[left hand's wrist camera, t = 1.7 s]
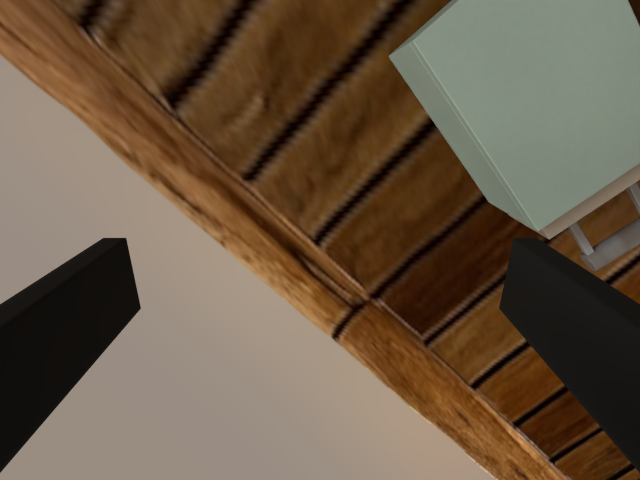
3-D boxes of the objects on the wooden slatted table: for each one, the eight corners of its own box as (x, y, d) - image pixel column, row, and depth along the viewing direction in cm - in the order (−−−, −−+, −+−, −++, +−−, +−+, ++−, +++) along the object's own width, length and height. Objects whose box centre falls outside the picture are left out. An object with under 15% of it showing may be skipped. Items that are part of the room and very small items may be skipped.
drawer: (636, 197, 33) (704, 218, 27) (539, 260, 35) (583, 292, 29) (526, -9, 27) (582, -39, 21) (418, 81, 29) (443, 77, 23)
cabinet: (598, 124, 31) (688, 131, 24) (489, 202, 34) (538, 231, 26) (506, -49, 27) (580, -108, 19) (388, 56, 29) (412, 40, 22)
